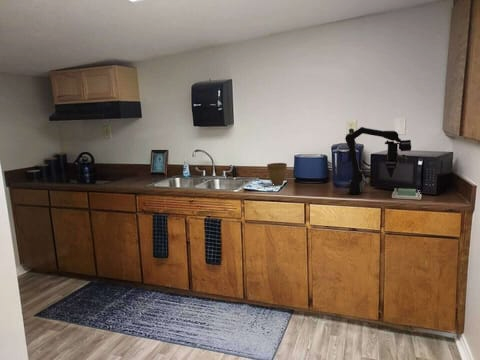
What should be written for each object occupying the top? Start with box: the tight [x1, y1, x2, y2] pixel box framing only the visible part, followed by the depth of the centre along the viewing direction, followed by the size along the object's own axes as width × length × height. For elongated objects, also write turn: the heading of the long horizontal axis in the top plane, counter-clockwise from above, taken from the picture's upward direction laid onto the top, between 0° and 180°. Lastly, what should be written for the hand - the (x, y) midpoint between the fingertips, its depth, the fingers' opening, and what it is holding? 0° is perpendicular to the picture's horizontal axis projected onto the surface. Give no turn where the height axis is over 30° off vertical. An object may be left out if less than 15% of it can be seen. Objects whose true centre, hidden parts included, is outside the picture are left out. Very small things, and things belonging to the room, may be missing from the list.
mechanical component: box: [359, 176, 371, 193], centre depth 235 cm, size 3×10×10 cm, turn 36°
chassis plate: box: [391, 187, 422, 201], centre depth 218 cm, size 16×12×4 cm
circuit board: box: [397, 187, 417, 196], centre depth 218 cm, size 10×6×3 cm, turn 63°
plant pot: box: [266, 162, 288, 186], centre depth 269 cm, size 15×15×16 cm
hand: (391, 175), depth 223 cm, fingers open, 9 cm apart
